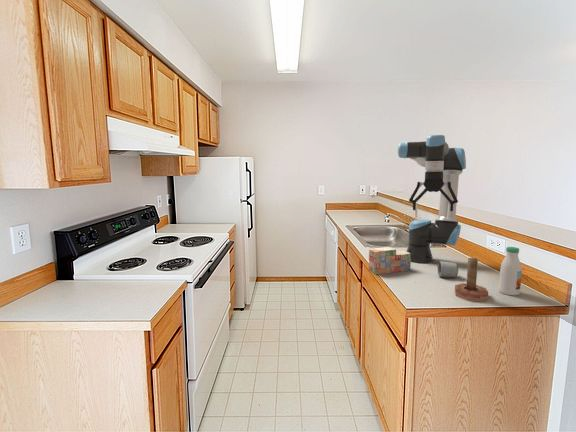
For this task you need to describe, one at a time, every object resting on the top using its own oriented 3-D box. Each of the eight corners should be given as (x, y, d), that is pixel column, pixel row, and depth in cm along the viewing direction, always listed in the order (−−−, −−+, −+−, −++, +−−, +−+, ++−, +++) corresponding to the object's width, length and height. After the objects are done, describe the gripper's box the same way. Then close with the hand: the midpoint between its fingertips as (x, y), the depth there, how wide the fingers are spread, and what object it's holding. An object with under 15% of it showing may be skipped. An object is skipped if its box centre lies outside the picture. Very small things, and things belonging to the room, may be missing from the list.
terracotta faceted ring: (453, 288, 154) (453, 282, 153) (483, 291, 150) (484, 285, 149) (456, 298, 143) (457, 292, 142) (489, 302, 139) (490, 295, 138)
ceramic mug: (458, 279, 165) (459, 264, 164) (440, 278, 167) (441, 263, 166) (452, 273, 176) (453, 258, 175) (435, 272, 177) (436, 258, 176)
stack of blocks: (403, 267, 187) (404, 245, 185) (410, 270, 181) (411, 247, 179) (368, 271, 181) (368, 248, 180) (374, 274, 175) (374, 251, 174)
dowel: (465, 293, 148) (467, 257, 146) (474, 294, 147) (477, 258, 145) (466, 296, 145) (468, 259, 143) (476, 297, 144) (478, 260, 141)
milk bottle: (510, 297, 143) (514, 250, 140) (494, 290, 151) (497, 246, 148) (524, 294, 146) (528, 249, 142) (508, 288, 153) (511, 245, 150)
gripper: (404, 171, 152) (402, 218, 156) (466, 170, 144) (463, 220, 147) (404, 170, 159) (403, 215, 163) (464, 170, 151) (461, 217, 154)
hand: (432, 218), depth 155 cm, fingers open, 13 cm apart
